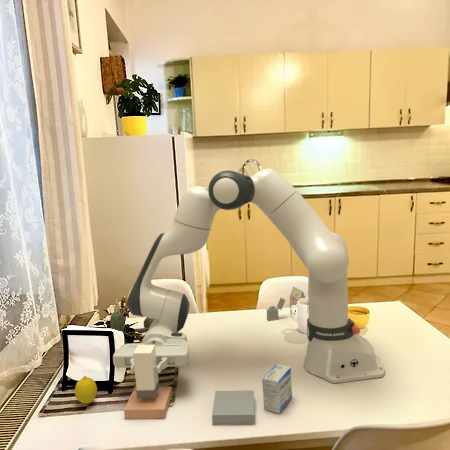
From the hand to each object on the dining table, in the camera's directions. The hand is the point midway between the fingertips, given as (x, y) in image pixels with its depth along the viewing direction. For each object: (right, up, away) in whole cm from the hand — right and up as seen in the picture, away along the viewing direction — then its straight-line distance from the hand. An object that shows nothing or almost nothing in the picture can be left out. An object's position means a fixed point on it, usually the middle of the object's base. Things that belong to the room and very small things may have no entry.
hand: (145, 370), depth 104 cm
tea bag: (+49, +2, +57) cm, 75 cm away
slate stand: (+22, -10, -1) cm, 24 cm away
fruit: (-16, -11, +5) cm, 20 cm away
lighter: (+40, +1, +53) cm, 66 cm away
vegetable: (-13, -7, +28) cm, 31 cm away
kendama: (-9, -4, +44) cm, 45 cm away
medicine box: (+34, -9, +1) cm, 35 cm away
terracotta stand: (+1, -10, +3) cm, 11 cm away
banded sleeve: (0, -6, +2) cm, 7 cm away
